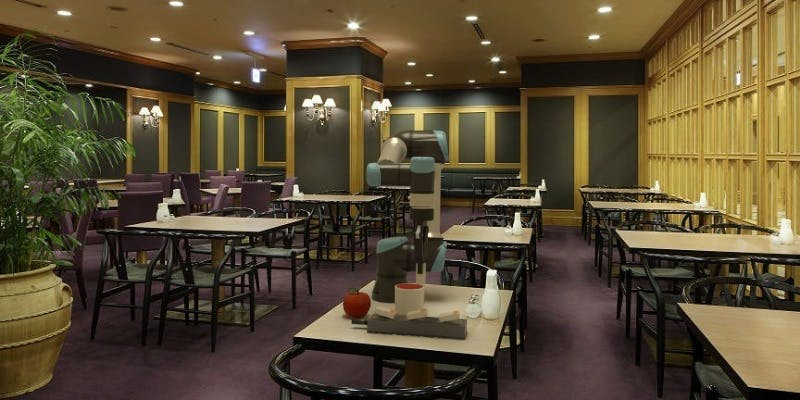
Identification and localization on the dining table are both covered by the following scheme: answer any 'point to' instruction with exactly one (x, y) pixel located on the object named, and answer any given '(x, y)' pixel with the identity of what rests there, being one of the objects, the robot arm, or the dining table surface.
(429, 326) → the power strip
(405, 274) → the robot arm
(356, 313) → the fruit
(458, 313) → the rocker
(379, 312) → the block
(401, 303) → the cup
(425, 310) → the rocker
